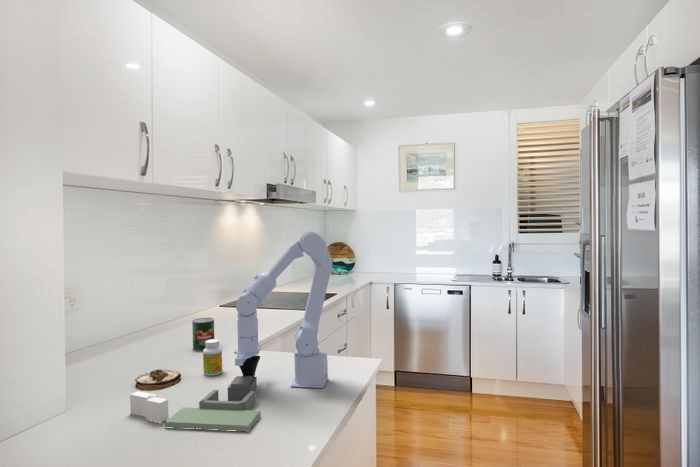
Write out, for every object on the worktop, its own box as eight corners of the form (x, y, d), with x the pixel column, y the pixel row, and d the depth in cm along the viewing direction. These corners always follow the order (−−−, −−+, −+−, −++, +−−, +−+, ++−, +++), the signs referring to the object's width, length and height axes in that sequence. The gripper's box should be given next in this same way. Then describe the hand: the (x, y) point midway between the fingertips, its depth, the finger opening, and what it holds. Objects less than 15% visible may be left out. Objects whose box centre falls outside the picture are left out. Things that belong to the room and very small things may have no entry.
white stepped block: (122, 413, 112) (121, 390, 112) (170, 404, 117) (170, 382, 117) (122, 438, 99) (121, 412, 99) (176, 426, 104) (176, 402, 104)
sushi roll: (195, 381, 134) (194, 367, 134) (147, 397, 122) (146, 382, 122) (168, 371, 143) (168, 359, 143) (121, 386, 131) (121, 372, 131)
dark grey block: (256, 389, 126) (256, 374, 125) (250, 400, 118) (250, 384, 117) (235, 389, 126) (235, 374, 125) (227, 400, 118) (227, 384, 117)
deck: (271, 403, 115) (271, 391, 115) (248, 432, 99) (247, 419, 99) (199, 400, 118) (198, 389, 118) (165, 428, 102) (164, 415, 102)
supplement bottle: (203, 377, 136) (202, 344, 136) (204, 371, 142) (203, 339, 141) (222, 374, 138) (221, 342, 137) (222, 369, 143) (221, 337, 143)
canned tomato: (201, 352, 162) (200, 323, 162) (188, 349, 167) (187, 320, 167) (219, 347, 168) (218, 319, 168) (206, 344, 173) (205, 316, 173)
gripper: (244, 329, 134) (245, 373, 135) (223, 342, 120) (225, 391, 120) (266, 329, 133) (267, 374, 134) (248, 342, 119) (250, 392, 119)
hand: (249, 382), depth 127 cm, fingers closed
